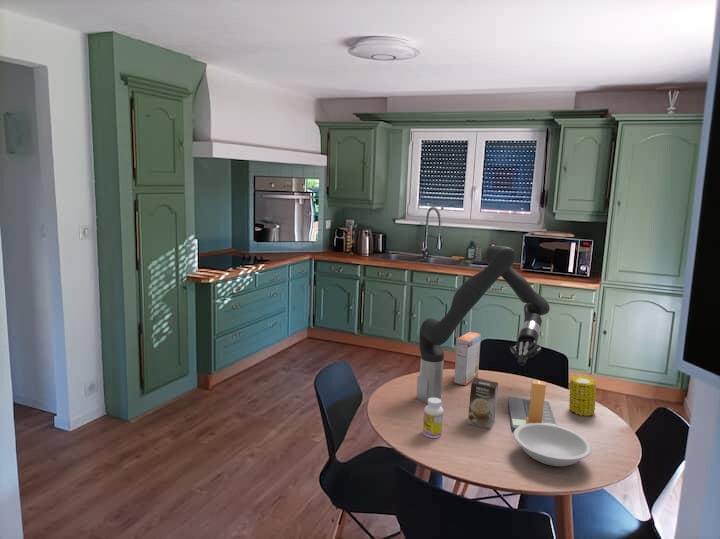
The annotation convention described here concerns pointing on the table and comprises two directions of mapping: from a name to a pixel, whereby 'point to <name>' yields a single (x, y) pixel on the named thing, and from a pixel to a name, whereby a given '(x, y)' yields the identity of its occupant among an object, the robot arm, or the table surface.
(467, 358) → the cracker box
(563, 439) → the soup bowl
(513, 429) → the fader board
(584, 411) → the food
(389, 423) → the table surface
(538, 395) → the block
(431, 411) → the supplement bottle
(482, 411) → the coffee box
